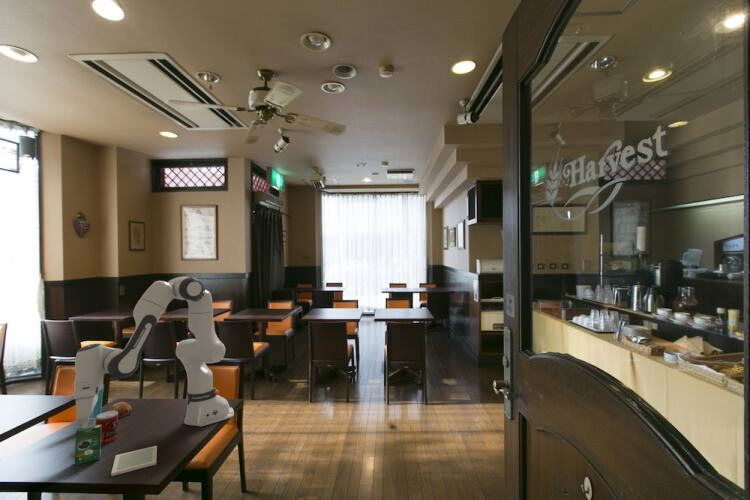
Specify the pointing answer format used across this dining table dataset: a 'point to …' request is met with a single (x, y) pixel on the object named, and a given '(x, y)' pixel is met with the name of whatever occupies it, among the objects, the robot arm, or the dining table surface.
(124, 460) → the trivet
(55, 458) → the dining table surface
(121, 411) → the bread roll
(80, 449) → the coffee box
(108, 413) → the canned food
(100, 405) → the tube
